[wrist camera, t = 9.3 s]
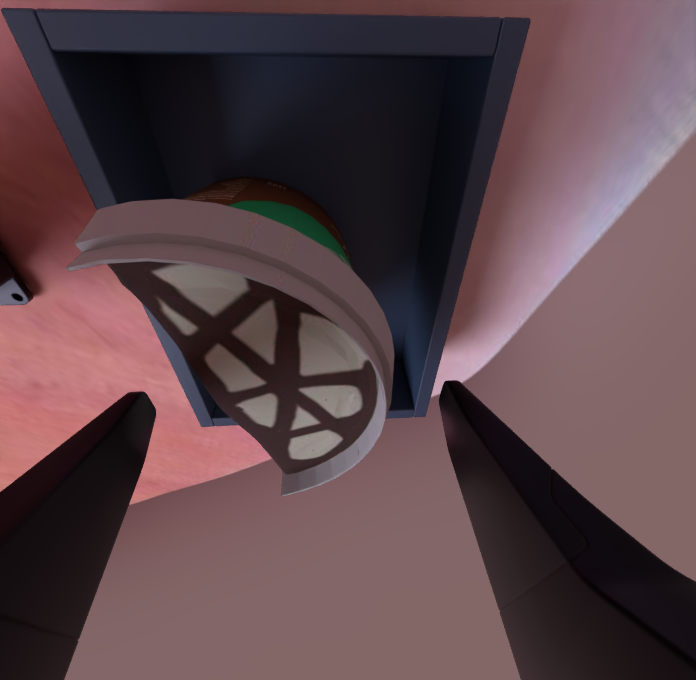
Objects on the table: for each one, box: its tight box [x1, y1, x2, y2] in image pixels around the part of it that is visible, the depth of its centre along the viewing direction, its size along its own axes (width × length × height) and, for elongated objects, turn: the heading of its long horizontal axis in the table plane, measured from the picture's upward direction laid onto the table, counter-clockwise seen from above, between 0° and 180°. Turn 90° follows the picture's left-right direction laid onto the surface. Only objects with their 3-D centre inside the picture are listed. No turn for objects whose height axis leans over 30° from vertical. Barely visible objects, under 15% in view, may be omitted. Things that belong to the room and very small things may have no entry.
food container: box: [66, 177, 394, 496], centre depth 14 cm, size 12×6×10 cm, turn 16°
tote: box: [1, 8, 530, 427], centre depth 16 cm, size 14×18×5 cm
